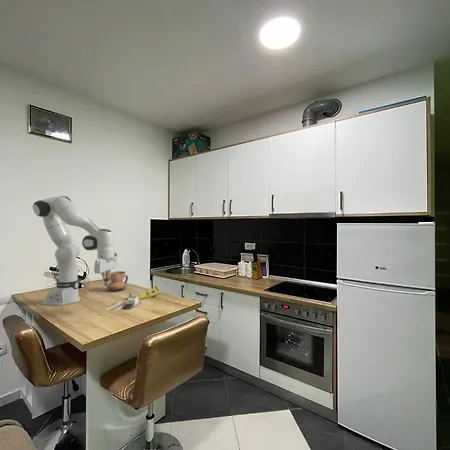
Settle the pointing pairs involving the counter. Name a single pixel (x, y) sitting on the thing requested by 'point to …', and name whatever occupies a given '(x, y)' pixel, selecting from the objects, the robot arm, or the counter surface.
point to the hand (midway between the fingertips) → (106, 277)
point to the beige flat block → (122, 306)
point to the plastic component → (147, 293)
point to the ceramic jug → (117, 281)
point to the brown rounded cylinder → (107, 278)
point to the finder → (133, 300)
